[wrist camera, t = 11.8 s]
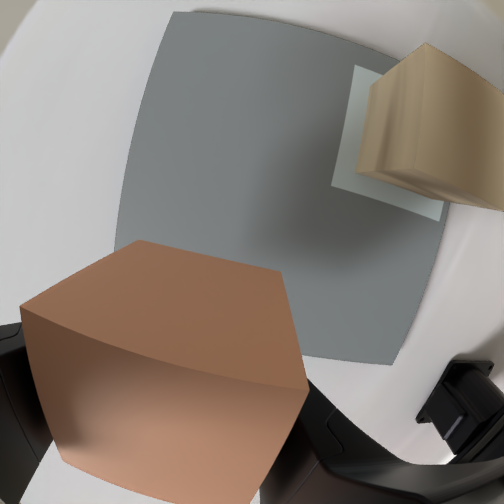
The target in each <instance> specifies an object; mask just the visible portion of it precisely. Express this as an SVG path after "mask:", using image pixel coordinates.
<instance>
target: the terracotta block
mask: <svg viewBox="0 0 504 504" xmlns="http://www.w3.org/2000/svg"><path fill="white" fill-rule="evenodd" d="M20 313H21V320H22V327H23V333H24V339H25V344H26V349H27V354H28V359H29V363H30V367H31V371H32V375H33V379H34V383H35V386H36V390H37V393H38V397H39V400H40V403H41V406H42V409H43V412H44V415H45V418H46V421H47V424H48V426H49V429H50V432H51V434H52V437H53V439H54V442H55V444H56V446H57V449H58V451H59V453H60V456H61V458H62V460H63V461H64V462H66V463H68V464H70V465H72V466H74V467H76V468H78V469H80V470H82V471H84V472H86V473H88V474H90V475H93V476H95V477H97V478H100V479H102V480H104V481H107V482H109V483H112V484H114V485H117V486H120V487H122V488H125V489H128V490H131V491H134V492H137V493H140V494H143V495H146V496H149V497H153V498H156V499H160V500H163V501H167V502H171V503H175V504H250V502H251V500H252V499H253V497H254V496H255V494H256V492H257V491H258V489H259V487H260V486H261V484H262V482H263V481H264V479H265V477H266V475H267V474H268V472H269V470H270V468H271V467H272V465H273V463H274V461H275V459H276V457H277V456H278V454H279V452H280V450H281V448H282V446H283V444H284V442H285V440H286V439H287V437H288V435H289V433H290V431H291V429H292V427H293V425H294V423H295V421H296V418H297V416H298V414H299V412H300V410H301V408H302V406H303V404H304V402H305V399H306V397H307V395H308V393H309V391H310V390H309V386H308V381H307V377H306V373H305V368H304V364H303V360H302V355H301V351H300V347H299V343H298V339H297V335H296V330H295V326H294V322H293V318H292V314H291V310H290V306H289V302H288V298H287V294H286V290H285V286H284V282H283V278H282V274H281V272H280V271H276V270H271V269H267V268H262V267H258V266H253V265H249V264H244V263H240V262H235V261H231V260H226V259H222V258H217V257H213V256H209V255H204V254H200V253H196V252H191V251H187V250H182V249H178V248H174V247H170V246H165V245H161V244H157V243H152V242H148V241H144V240H140V239H139V240H137V241H135V242H133V243H131V244H129V245H127V246H125V247H123V248H121V249H119V250H117V251H115V252H114V253H112V254H110V255H108V256H106V257H104V258H102V259H100V260H98V261H97V262H95V263H93V264H91V265H89V266H87V267H86V268H84V269H82V270H80V271H78V272H77V273H75V274H73V275H71V276H69V277H68V278H66V279H64V280H62V281H61V282H59V283H57V284H56V285H54V286H52V287H50V288H49V289H47V290H45V291H44V292H42V293H40V294H39V295H37V296H35V297H34V298H32V299H30V300H29V301H27V302H25V303H24V304H22V305H20Z"/></svg>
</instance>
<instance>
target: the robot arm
mask: <svg viewBox="0 0 504 504" xmlns="http://www.w3.org/2000/svg"><path fill="white" fill-rule="evenodd" d="M493 367H494V363H493V362H492V361H462V360H453V361H451V362H450V363H449V364H448V366H447V367H446V369H445V371H444V373H443V375H442V377H441V378H440V380H439V382H438V383H437V385H436V387H435V389H434V390H433V392H432V394H431V395H430V397H429V398H428V400H427V402H426V403H425V405H424V406H423V408H422V409H421V411H420V412H419V414H418V415H417V417H416V421H417V423H419V424H420V423H430V422H432V423H433V424H434V426H435V428H436V429H437V431H438V433H439V434H440V436H441V437H442V439H443V440H445V441H446V442H447V444H448V446H449V447H450V449H451V451H452V452H453V454H454V455H456V456H455V457H454V458H453V459H452V460H451V461H450V462H449V463H447V464H446V465H418V464H412V463H408V462H405V461H403V460H401V459H399V458H398V457H396V456H395V455H393V454H392V453H391V452H389V451H388V450H387V449H385V448H384V447H383V446H381V445H380V444H379V443H377V442H376V441H375V440H373V439H372V438H371V437H369V436H368V435H367V434H366V433H364V432H363V431H362V430H361V429H359V428H358V427H357V426H356V425H355V424H353V423H352V422H351V421H350V420H349V419H348V418H347V417H346V416H345V415H344V414H343V413H342V412H341V411H340V410H339V409H336V407H335V406H334V405H333V404H332V403H331V402H330V401H329V400H328V399H327V398H326V397H325V396H324V395H323V394H322V393H321V392H320V391H319V390H318V389H317V388H316V387H315V386H314V384H313V383H312V382H311V381H310V380H309V379H308V378H307V381H308V386H309V390H310V391H309V393H308V395H307V397H306V399H305V402H304V404H303V406H302V408H301V410H300V412H299V414H298V416H297V418H296V421H295V423H294V425H293V427H292V429H291V431H290V433H289V435H288V437H287V439H286V440H285V442H284V444H283V446H282V448H281V450H280V452H279V454H278V456H277V457H276V459H275V461H274V463H273V465H272V467H271V468H270V470H269V472H268V474H267V475H266V477H265V479H264V481H263V482H262V484H261V486H260V487H259V490H260V504H504V393H503V392H502V391H501V390H500V389H499V388H498V387H497V386H496V385H495V384H494V383H493V382H492V381H491V380H490V379H489V378H488V376H489V374H490V372H491V370H492V369H493ZM52 441H53V437H52V434H51V432H50V429H49V426H48V424H47V421H46V418H45V415H44V412H43V409H42V406H41V403H40V400H39V397H38V393H37V390H36V386H35V383H34V379H33V375H32V371H31V367H30V363H29V359H28V354H27V349H26V344H25V339H24V333H23V327H22V322H19V323H14V324H7V325H1V326H0V502H1V503H2V504H19V502H20V500H21V498H22V496H23V494H24V492H25V490H26V488H27V486H28V484H29V482H30V481H31V479H32V477H33V475H34V473H35V471H36V469H37V468H38V466H39V463H40V462H41V460H42V458H43V457H44V455H45V453H46V451H47V450H48V448H49V446H50V444H51V443H52Z"/></svg>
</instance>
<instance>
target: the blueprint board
mask: <svg viewBox="0 0 504 504" xmlns="http://www.w3.org/2000/svg"><path fill="white" fill-rule="evenodd" d="M399 62H400V61H398V60H396V59H394V58H391V57H389V56H387V55H384V54H382V53H380V52H377V51H375V50H372V49H370V48H367V47H364V46H362V45H359V44H356V43H353V42H350V41H347V40H344V39H341V38H338V37H335V36H332V35H329V34H325V33H322V32H318V31H314V30H311V29H307V28H303V27H299V26H294V25H290V24H285V23H280V22H275V21H270V20H264V19H258V18H252V17H245V16H237V15H228V14H217V13H202V12H173V14H172V16H171V18H170V21H169V23H168V26H167V28H166V31H165V33H164V36H163V38H162V41H161V44H160V46H159V49H158V52H157V55H156V57H155V60H154V63H153V66H152V69H151V72H150V75H149V78H148V82H147V85H146V88H145V91H144V95H143V98H142V102H141V105H140V109H139V113H138V116H137V120H136V124H135V128H134V133H133V137H132V141H131V146H130V150H129V155H128V160H127V165H126V170H125V175H124V181H123V186H122V193H121V199H120V205H119V213H118V220H117V228H116V237H115V246H114V252H115V251H117V250H119V249H121V248H123V247H125V246H127V245H129V244H131V243H133V242H135V241H137V240H139V239H140V240H144V241H148V242H152V243H157V244H161V245H165V246H170V247H174V248H178V249H182V250H187V251H191V252H196V253H200V254H204V255H209V256H213V257H217V258H222V259H226V260H231V261H235V262H240V263H244V264H249V265H253V266H258V267H262V268H267V269H271V270H276V271H280V272H281V274H282V278H283V282H284V286H285V290H286V294H287V298H288V302H289V306H290V310H291V314H292V318H293V322H294V326H295V330H296V335H297V339H298V343H299V347H300V351H301V355H305V356H312V357H319V358H326V359H334V360H342V361H351V362H360V363H370V364H381V365H393V363H394V361H395V359H396V357H397V355H398V352H399V350H400V348H401V346H402V344H403V342H404V340H405V337H406V335H407V333H408V331H409V328H410V326H411V324H412V321H413V319H414V316H415V314H416V311H417V309H418V306H419V304H420V301H421V299H422V296H423V293H424V290H425V288H426V285H427V282H428V279H429V276H430V273H431V270H432V267H433V264H434V261H435V257H436V254H437V251H438V247H439V244H440V240H441V237H442V233H443V229H444V225H445V221H446V217H447V213H448V208H449V204H450V202H446V201H440V200H433V199H430V198H427V197H424V196H422V195H419V194H416V193H414V192H411V191H408V190H406V189H403V188H400V187H397V186H394V185H391V184H388V183H385V182H382V181H379V180H376V179H373V178H370V177H367V176H364V175H361V174H357V173H355V170H356V165H357V160H358V155H359V150H360V145H361V139H362V134H363V128H364V122H365V116H366V110H367V103H368V96H369V89H370V86H371V85H372V84H373V83H374V82H376V81H377V80H378V79H379V78H380V77H382V76H383V75H384V74H385V73H387V72H388V71H389V70H390V69H392V68H393V67H394V66H395V65H397V64H398V63H399Z"/></svg>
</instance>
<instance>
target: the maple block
mask: <svg viewBox="0 0 504 504" xmlns="http://www.w3.org/2000/svg"><path fill="white" fill-rule="evenodd" d="M355 173H357V174H361V175H364V176H367V177H370V178H373V179H376V180H379V181H382V182H385V183H388V184H391V185H394V186H397V187H400V188H403V189H406V190H408V191H411V192H414V193H416V194H419V195H422V196H424V197H427V198H430V199H433V200H440V201H446V202H453V203H459V204H465V205H471V206H476V207H482V208H487V209H492V210H498V211H503V212H504V94H503V93H502V92H501V91H499V90H498V89H497V88H495V87H494V86H493V85H491V84H490V83H489V82H487V81H486V80H485V79H483V78H482V77H481V76H479V75H478V74H476V73H475V72H473V71H472V70H470V69H469V68H467V67H466V66H464V65H463V64H461V63H460V62H458V61H457V60H455V59H453V58H452V57H450V56H448V55H447V54H445V53H443V52H442V51H440V50H438V49H436V48H434V47H433V46H431V45H429V44H427V43H424V44H423V45H421V46H420V47H419V48H417V49H416V50H415V51H414V52H412V53H411V54H410V55H408V56H407V57H406V58H404V59H403V60H402V61H401V62H399V63H398V64H397V65H395V66H394V67H393V68H392V69H390V70H389V71H388V72H387V73H385V74H384V75H383V76H382V77H380V78H379V79H378V80H377V81H376V82H374V83H373V84H372V85H371V86H370V89H369V96H368V103H367V110H366V116H365V122H364V128H363V134H362V139H361V145H360V150H359V155H358V160H357V165H356V170H355Z"/></svg>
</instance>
